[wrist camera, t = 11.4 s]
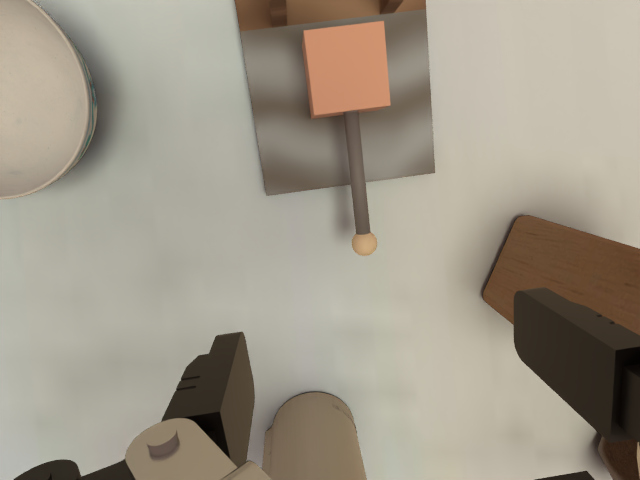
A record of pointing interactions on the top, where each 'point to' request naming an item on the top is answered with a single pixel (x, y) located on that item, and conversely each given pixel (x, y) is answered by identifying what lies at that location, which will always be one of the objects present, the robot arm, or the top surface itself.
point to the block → (567, 270)
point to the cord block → (349, 97)
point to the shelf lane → (329, 132)
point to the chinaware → (40, 100)
